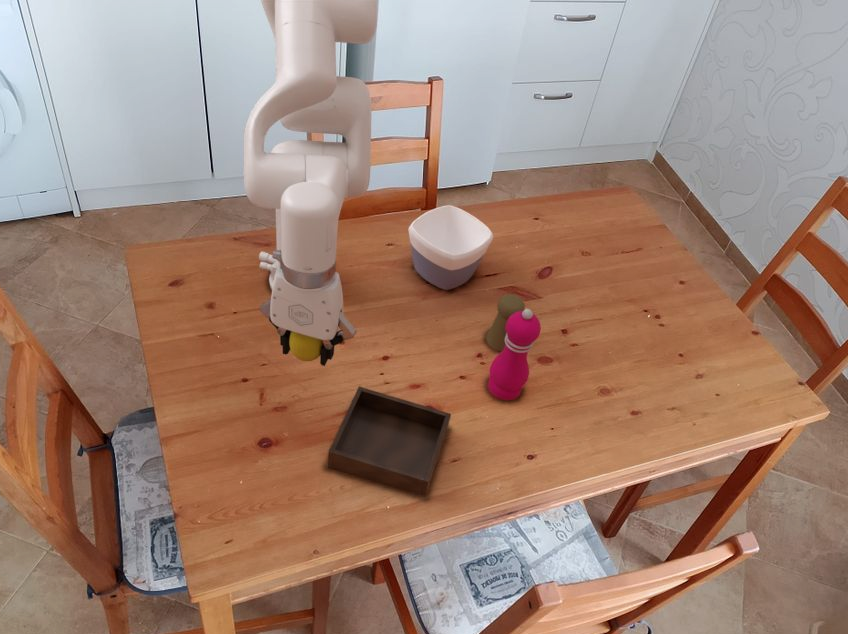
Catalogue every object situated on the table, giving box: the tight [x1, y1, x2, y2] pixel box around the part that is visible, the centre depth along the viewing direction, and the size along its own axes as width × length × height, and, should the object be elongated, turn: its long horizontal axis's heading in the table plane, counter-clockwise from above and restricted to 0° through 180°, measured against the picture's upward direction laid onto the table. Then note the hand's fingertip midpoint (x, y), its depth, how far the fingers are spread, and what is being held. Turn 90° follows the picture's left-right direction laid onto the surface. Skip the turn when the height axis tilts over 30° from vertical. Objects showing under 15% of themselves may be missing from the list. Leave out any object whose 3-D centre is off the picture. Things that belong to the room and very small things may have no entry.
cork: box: [485, 293, 526, 353], centre depth 141 cm, size 6×6×11 cm
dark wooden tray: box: [327, 386, 452, 497], centre depth 121 cm, size 17×15×4 cm
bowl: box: [407, 204, 494, 291], centre depth 153 cm, size 15×15×11 cm
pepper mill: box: [487, 308, 542, 401], centre depth 129 cm, size 7×7×20 cm
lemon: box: [289, 331, 323, 362], centre depth 114 cm, size 6×6×8 cm
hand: (307, 353), depth 116 cm, fingers closed on lemon, 5 cm apart
